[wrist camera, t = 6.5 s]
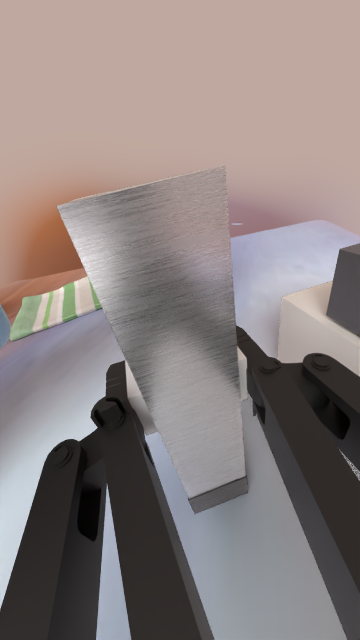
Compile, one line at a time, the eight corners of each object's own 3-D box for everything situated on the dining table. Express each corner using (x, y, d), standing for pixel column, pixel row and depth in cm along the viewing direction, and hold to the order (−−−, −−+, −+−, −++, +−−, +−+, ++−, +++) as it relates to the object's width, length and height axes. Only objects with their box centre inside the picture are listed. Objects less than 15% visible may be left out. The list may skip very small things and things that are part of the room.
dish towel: (28, 304, 52) (21, 294, 50) (123, 272, 58) (120, 262, 56) (13, 344, 38) (3, 332, 36) (142, 296, 43) (138, 284, 42)
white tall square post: (194, 514, 14) (53, 207, 4) (180, 456, 17) (78, 198, 7) (247, 492, 15) (228, 165, 5) (224, 439, 18) (183, 173, 8)
